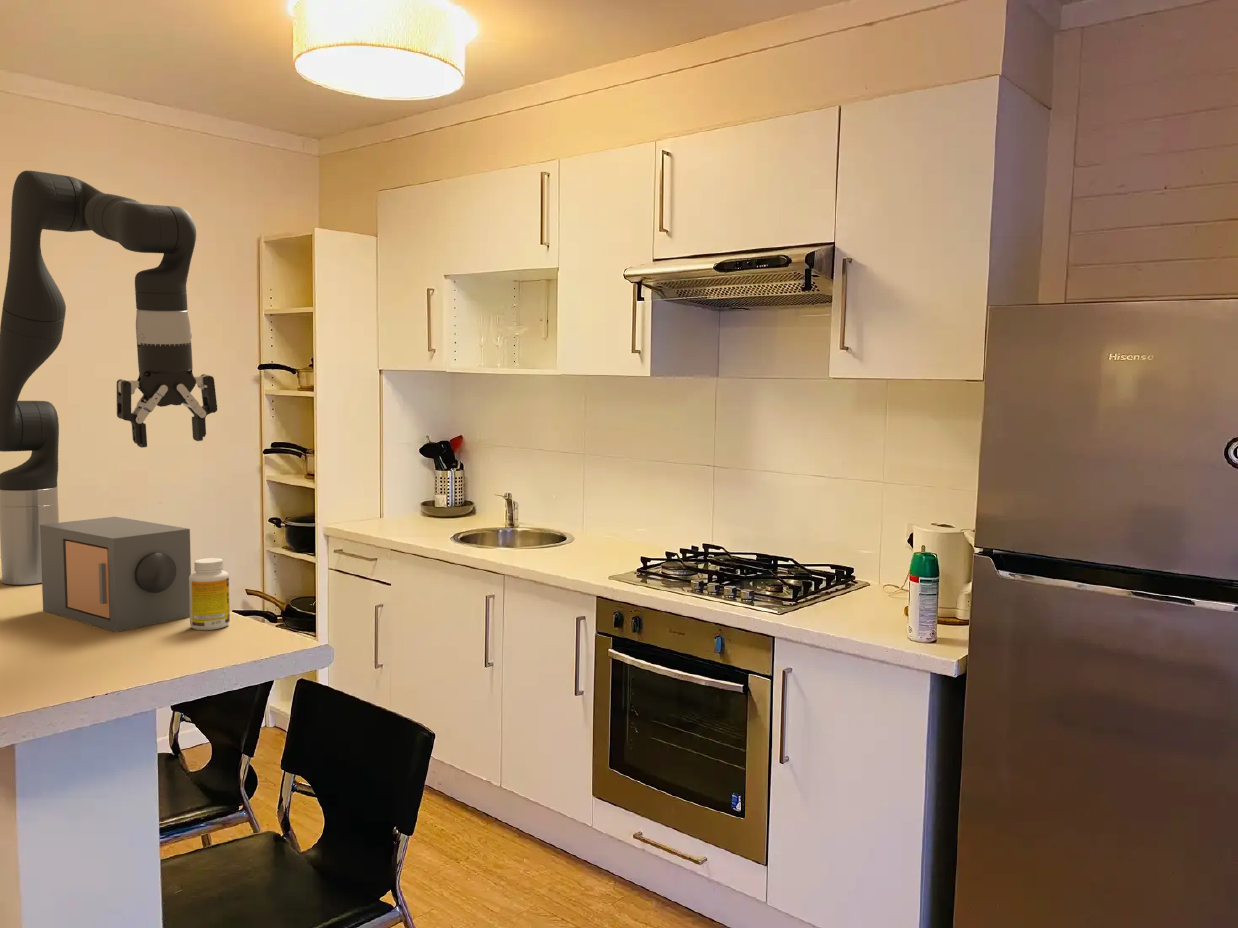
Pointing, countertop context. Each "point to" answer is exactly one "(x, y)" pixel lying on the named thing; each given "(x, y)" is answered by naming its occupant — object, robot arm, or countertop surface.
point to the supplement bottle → (209, 595)
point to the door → (88, 578)
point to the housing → (122, 570)
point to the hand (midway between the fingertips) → (170, 443)
